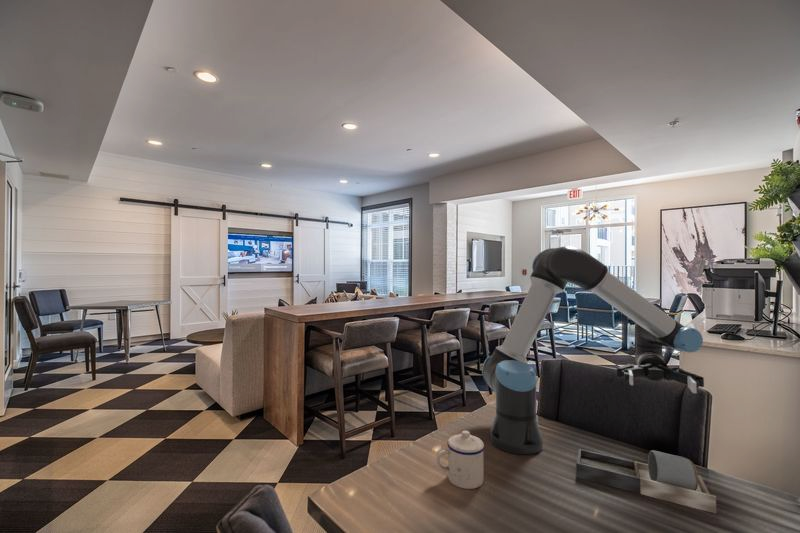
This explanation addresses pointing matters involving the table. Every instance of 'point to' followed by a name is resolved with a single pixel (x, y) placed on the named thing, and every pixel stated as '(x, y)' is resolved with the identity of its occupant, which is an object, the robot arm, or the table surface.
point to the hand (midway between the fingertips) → (661, 384)
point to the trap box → (644, 482)
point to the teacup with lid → (464, 460)
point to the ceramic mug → (672, 470)
